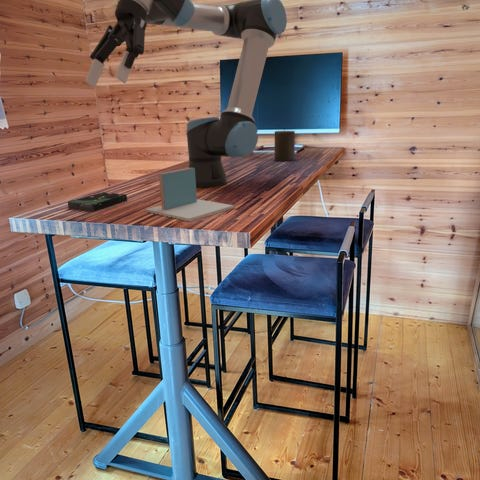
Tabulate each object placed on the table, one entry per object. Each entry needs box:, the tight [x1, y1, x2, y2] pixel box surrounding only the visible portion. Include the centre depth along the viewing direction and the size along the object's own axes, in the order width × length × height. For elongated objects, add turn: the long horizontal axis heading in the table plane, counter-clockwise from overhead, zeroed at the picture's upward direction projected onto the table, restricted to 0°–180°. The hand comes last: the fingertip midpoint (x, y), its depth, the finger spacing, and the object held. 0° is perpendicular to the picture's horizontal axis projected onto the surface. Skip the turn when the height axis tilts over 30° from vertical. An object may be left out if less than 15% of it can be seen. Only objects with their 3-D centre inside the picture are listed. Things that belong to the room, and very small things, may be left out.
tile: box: [158, 167, 198, 210], centre depth 126 cm, size 12×2×10 cm, turn 139°
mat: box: [145, 198, 234, 222], centre depth 125 cm, size 17×18×1 cm
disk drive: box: [67, 191, 128, 213], centre depth 135 cm, size 10×3×15 cm
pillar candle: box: [274, 128, 296, 162], centre depth 213 cm, size 10×10×15 cm
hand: (104, 82), depth 110 cm, fingers open, 13 cm apart
